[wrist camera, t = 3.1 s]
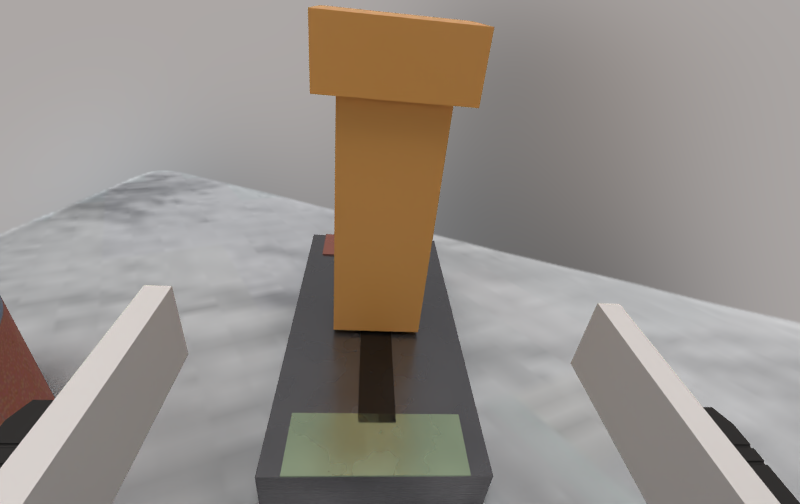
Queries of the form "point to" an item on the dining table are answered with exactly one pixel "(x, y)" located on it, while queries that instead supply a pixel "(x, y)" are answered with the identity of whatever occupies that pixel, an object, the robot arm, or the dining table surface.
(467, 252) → the dining table surface
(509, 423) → the dining table surface
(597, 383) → the robot arm
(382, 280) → the handle
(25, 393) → the canned food
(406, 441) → the switch plate
